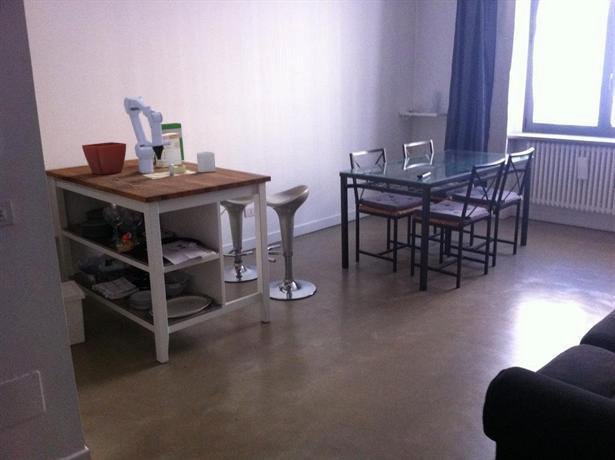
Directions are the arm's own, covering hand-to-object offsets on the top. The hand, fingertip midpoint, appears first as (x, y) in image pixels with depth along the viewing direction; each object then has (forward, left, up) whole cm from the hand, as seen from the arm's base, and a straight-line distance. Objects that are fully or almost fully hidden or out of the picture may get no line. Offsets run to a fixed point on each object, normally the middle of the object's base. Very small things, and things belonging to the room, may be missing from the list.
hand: (159, 159), depth 333 cm
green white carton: (-54, +26, -10) cm, 61 cm away
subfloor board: (+1, +5, -9) cm, 11 cm away
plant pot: (-37, -19, -10) cm, 43 cm away
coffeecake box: (-36, +19, -10) cm, 42 cm away
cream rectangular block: (0, +10, -8) cm, 13 cm away
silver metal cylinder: (+7, +4, -8) cm, 12 cm away
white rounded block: (+6, +25, -10) cm, 28 cm away
